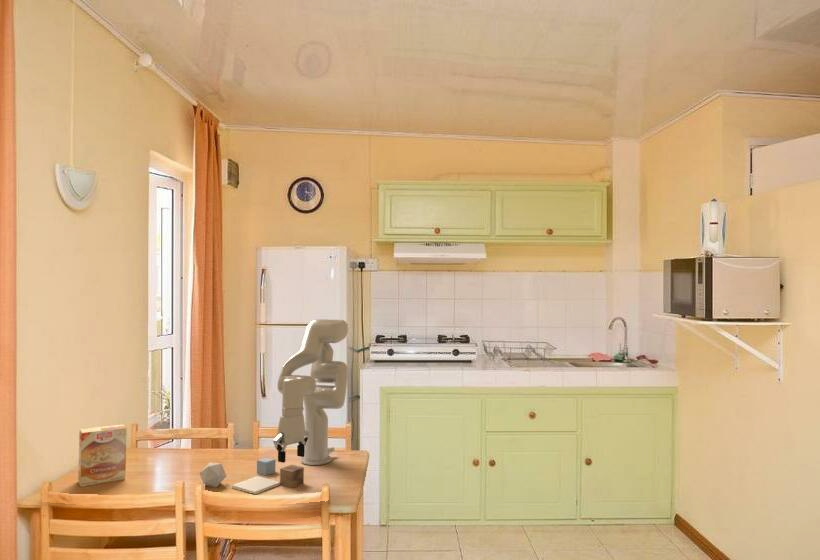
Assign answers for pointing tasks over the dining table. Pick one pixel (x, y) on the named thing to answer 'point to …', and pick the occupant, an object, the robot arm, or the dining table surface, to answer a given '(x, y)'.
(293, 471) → the walnut block
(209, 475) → the die
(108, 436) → the coffeecake box
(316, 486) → the dining table surface
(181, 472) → the dining table surface
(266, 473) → the blue block
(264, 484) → the plate
